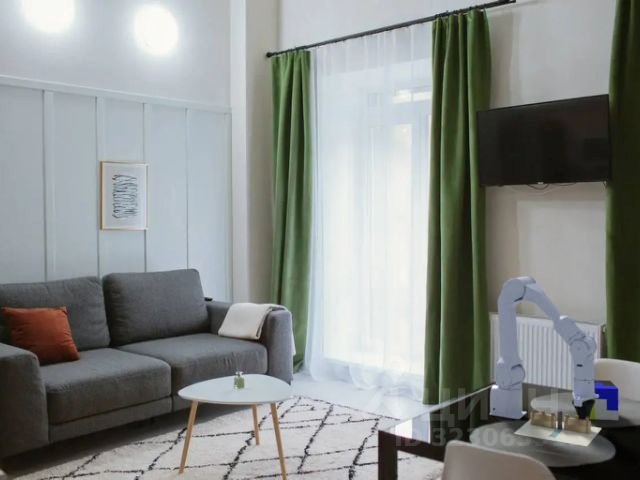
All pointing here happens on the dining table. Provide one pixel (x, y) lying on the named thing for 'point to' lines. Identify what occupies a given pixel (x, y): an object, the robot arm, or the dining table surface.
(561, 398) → the dining table surface
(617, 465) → the dining table surface
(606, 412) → the puzzle toy
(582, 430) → the fence panel
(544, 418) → the fence fixed panel
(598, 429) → the mat
